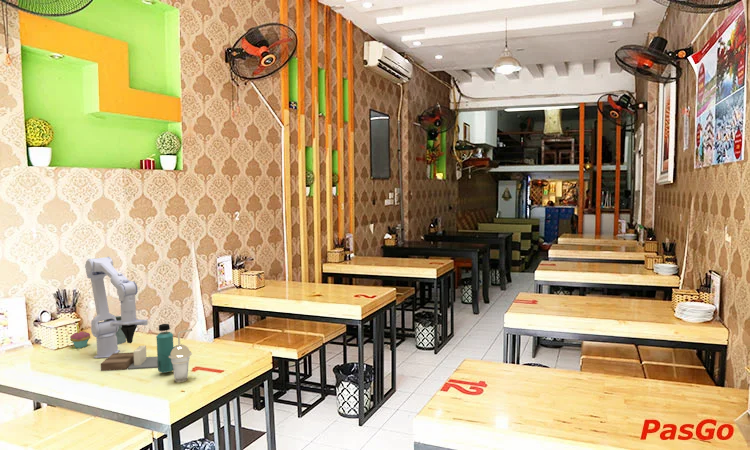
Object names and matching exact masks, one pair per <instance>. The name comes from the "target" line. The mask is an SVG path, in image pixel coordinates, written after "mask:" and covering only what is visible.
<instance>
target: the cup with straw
mask: <svg viewBox="0 0 750 450" xmlns="http://www.w3.org/2000/svg"><path fill="white" fill-rule="evenodd" d="M187 332H193V329H184V330H179V331H178V333H177V344H175V346H174V345H173V348H172V350H171V352H170V354H169V356H168V357H169V358H171V363H172V367H173V371H172V372H173V377H174V382H175V383H183V382H186V381H188V377H189V376H188V375H189V362H190V356H191V357H192V351H191V350H190V349H189V347H188V346H186V345H185V344H181V334H182V333H187Z"/></svg>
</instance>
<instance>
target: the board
mask: <svg viewBox="0 0 750 450" xmlns="http://www.w3.org/2000/svg"><path fill="white" fill-rule="evenodd" d="M133 363H134V351H132V352H118V353H113V354H112V355H111V356H110V357H106V359H105V360H103V361H102V362H100V372H104V371H105V372H107V371H125V370H126V371H127V370H129V369H128V367H129V366H130V365H131V364H133Z"/></svg>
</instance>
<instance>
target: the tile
mask: <svg viewBox="0 0 750 450" xmlns="http://www.w3.org/2000/svg"><path fill="white" fill-rule="evenodd" d="M133 352H134V365H141V364H142V363H143V362H144V361H145V360H146V359H147V358H146V357H147V345H139V346H138V347H137V348H136V349H135V350H133Z"/></svg>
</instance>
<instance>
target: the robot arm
mask: <svg viewBox="0 0 750 450" xmlns="http://www.w3.org/2000/svg"><path fill="white" fill-rule="evenodd" d="M84 266H85V267H84V268H85V273H86V274H85V275H86V278H87V279H90V281H91V282H90V283H91V287H92V289H91V290H92V293H93V299H94V305H95V311H96V316H95V317H94V318H93V319H92V320H91V321H90V324H91V325H90V326H91V328H90V330H91V334H92V336H93V337H95V338H96V352H97V353H96V355H94V356H93V359H102V358H108V357H110V356H111V355H112V354H113V353H120V352H121V350H120V349H119V348H118V346H119V345H117V337H116V332H117V331H118V328H119V326H122V328H121V330H122V331H123V333H124V335H125V337H126V343H127V344H131V343H133V341H134V340H133V339H134V335H135V332H136V329H137V327H138V326H147V325H148V323H149V322H148V319H137V307H136V296H137V294H138V285H137V283H136V282H135V281H131V280H129V279H128V278H127V277H126V276H125V275H124V274H123V272H118V271H117V269H116V268H115V266H114V261H113V258H112V257H110V256H107V257H106V256H105V257H98V258H87V260H86V261H85V265H84ZM107 276H108V277H109V278H110V279H109V281H110V283H111V284H112V286H113V287H115V289H116V293H117V295H118V301H119V303H120V316H121V321H117V320H116V317H115V316H116V315H114V314H112V313H110V310H109V304H108V299H107V293H106V286H105V282H104V278H105V277H107ZM104 320H108V321H104Z"/></svg>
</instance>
